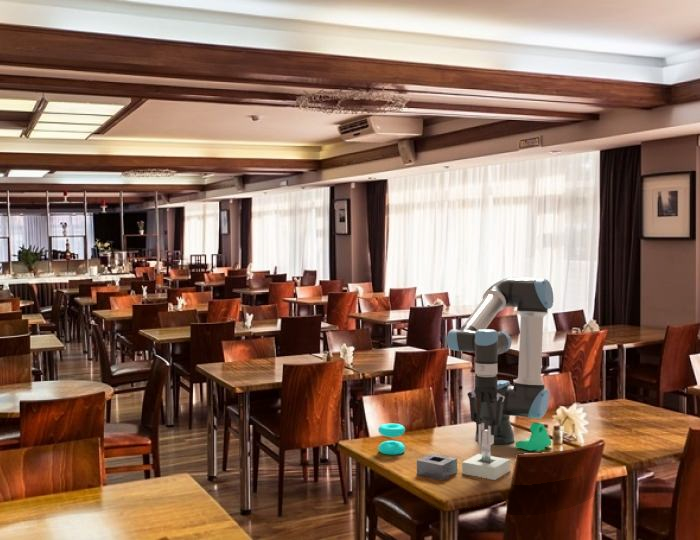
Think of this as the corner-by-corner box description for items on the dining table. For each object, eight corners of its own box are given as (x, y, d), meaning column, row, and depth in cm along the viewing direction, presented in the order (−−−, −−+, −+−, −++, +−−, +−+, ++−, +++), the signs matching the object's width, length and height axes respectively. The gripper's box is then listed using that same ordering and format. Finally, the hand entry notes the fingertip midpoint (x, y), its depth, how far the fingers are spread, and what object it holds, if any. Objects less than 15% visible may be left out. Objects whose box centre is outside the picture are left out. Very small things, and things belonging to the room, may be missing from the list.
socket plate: (478, 464, 264) (478, 453, 264) (510, 470, 257) (510, 459, 257) (462, 473, 254) (462, 462, 254) (494, 480, 247) (494, 468, 247)
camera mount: (535, 443, 291) (535, 417, 291) (551, 448, 285) (551, 421, 285) (514, 449, 284) (514, 422, 284) (530, 453, 278) (530, 426, 278)
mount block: (431, 467, 261) (431, 453, 261) (457, 472, 256) (457, 458, 255) (416, 474, 253) (416, 460, 253) (442, 480, 247) (442, 465, 247)
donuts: (384, 430, 274) (374, 423, 284) (384, 457, 275) (374, 449, 284) (409, 427, 277) (398, 421, 287) (409, 454, 278) (399, 447, 287)
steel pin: (484, 463, 257) (484, 428, 257) (492, 464, 256) (492, 430, 255) (480, 465, 255) (480, 430, 255) (488, 466, 253) (488, 431, 253)
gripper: (460, 374, 256) (460, 442, 257) (503, 379, 246) (503, 449, 247) (470, 371, 262) (470, 437, 263) (512, 375, 252) (512, 444, 253)
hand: (486, 443), depth 255 cm, fingers closed on steel pin, 3 cm apart
